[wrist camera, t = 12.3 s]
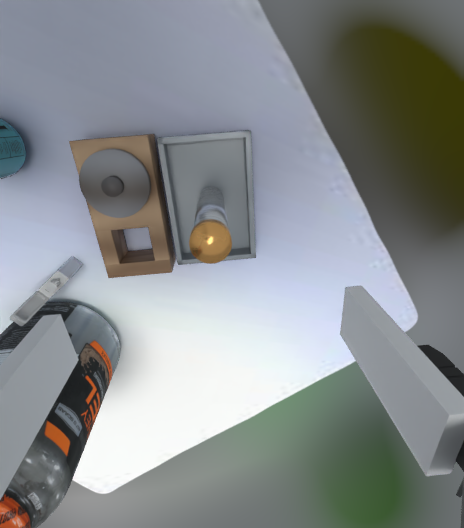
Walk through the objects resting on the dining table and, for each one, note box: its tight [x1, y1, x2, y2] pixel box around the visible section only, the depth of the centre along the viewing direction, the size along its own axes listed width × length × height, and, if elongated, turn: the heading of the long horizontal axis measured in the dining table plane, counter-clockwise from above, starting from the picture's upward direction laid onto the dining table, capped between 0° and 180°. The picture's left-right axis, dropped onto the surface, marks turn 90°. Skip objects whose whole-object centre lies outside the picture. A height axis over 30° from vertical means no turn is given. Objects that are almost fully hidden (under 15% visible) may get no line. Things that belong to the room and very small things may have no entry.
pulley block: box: [69, 134, 175, 278], centre depth 34 cm, size 16×8×7 cm, turn 4°
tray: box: [157, 130, 256, 265], centre depth 36 cm, size 15×10×3 cm
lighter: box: [10, 257, 82, 326], centre depth 37 cm, size 7×2×8 cm, turn 131°
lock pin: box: [189, 187, 232, 263], centre depth 30 cm, size 3×3×15 cm
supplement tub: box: [0, 302, 120, 528], centre depth 34 cm, size 16×16×26 cm
